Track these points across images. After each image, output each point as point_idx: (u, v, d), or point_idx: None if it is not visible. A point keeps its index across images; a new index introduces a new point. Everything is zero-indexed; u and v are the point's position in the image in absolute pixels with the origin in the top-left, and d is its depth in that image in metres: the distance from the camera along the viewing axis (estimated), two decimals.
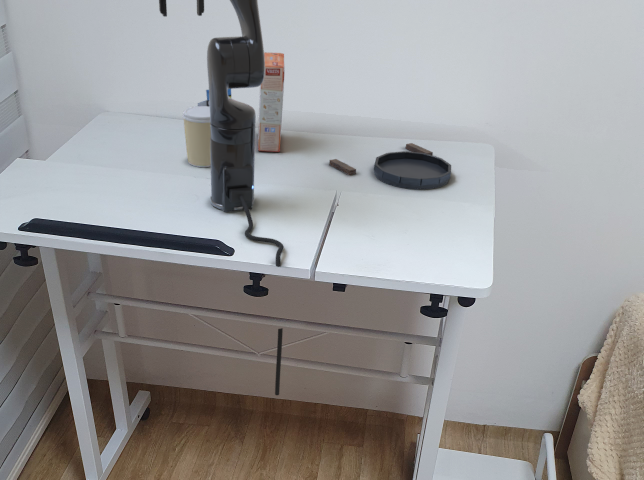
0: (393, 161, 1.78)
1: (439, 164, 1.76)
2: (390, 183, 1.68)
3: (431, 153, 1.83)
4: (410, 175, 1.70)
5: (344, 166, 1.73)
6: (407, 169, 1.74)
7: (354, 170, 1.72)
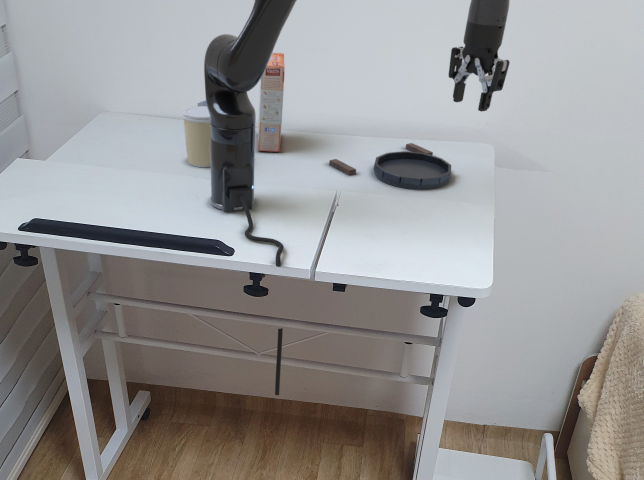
0: (393, 161, 1.78)
1: (439, 164, 1.76)
2: (390, 183, 1.68)
3: (431, 153, 1.83)
4: (410, 175, 1.70)
5: (344, 166, 1.73)
6: (407, 169, 1.74)
7: (354, 170, 1.72)
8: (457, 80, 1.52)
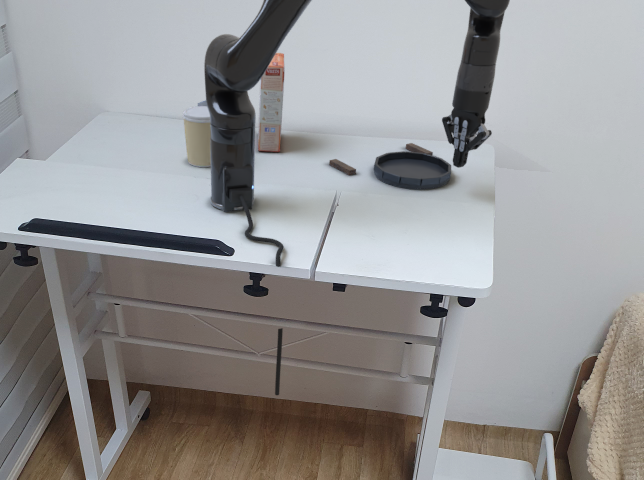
0: (393, 161, 1.78)
1: (439, 164, 1.76)
2: (390, 183, 1.68)
3: (431, 153, 1.83)
4: (410, 175, 1.70)
5: (344, 166, 1.73)
6: (407, 169, 1.74)
7: (354, 170, 1.72)
8: (456, 145, 1.57)
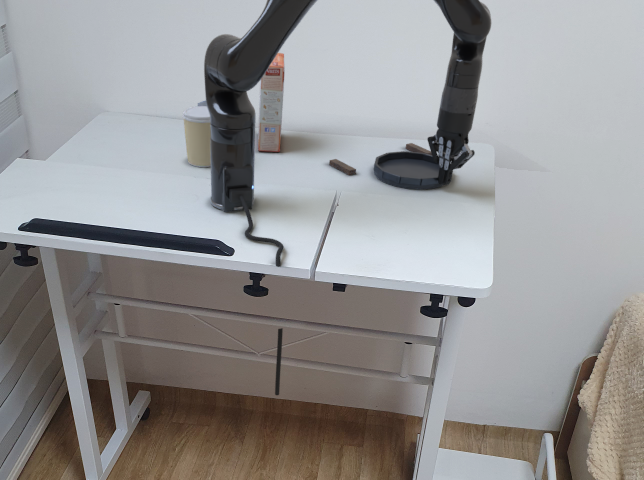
0: (393, 161, 1.78)
1: None
2: (390, 183, 1.68)
3: (431, 153, 1.83)
4: (410, 175, 1.70)
5: (344, 166, 1.73)
6: (407, 169, 1.74)
7: (354, 170, 1.72)
8: (441, 164, 1.62)
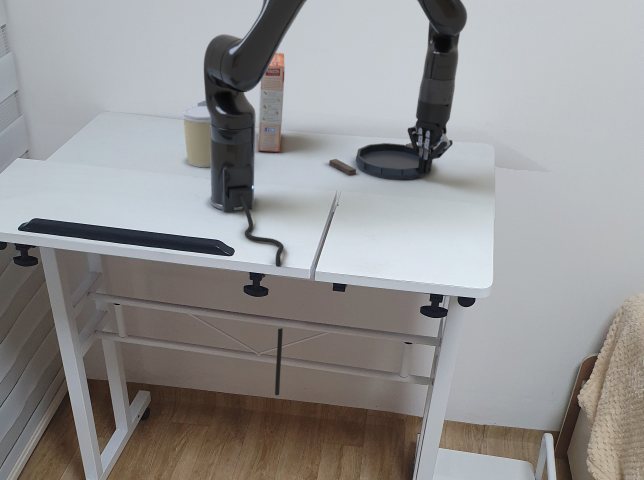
0: (375, 153, 1.82)
1: None
2: (372, 174, 1.72)
3: None
4: (391, 166, 1.75)
5: (344, 166, 1.73)
6: (388, 160, 1.78)
7: (354, 170, 1.72)
8: (421, 154, 1.67)
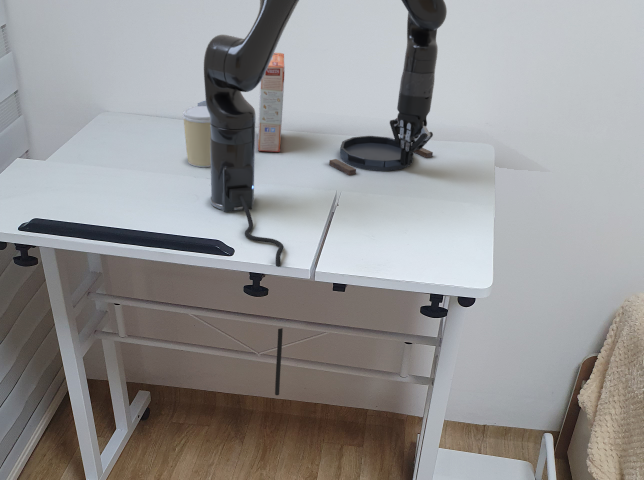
0: (358, 145, 1.86)
1: None
2: (355, 165, 1.76)
3: (431, 153, 1.83)
4: (374, 158, 1.79)
5: (344, 166, 1.73)
6: (372, 152, 1.82)
7: (354, 170, 1.72)
8: (403, 146, 1.71)
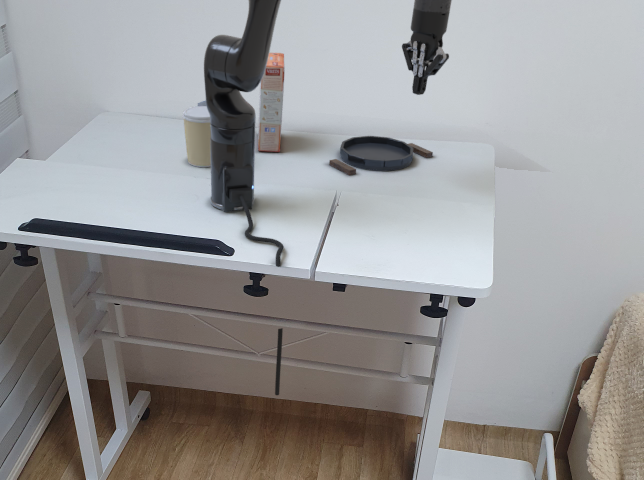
0: (358, 145, 1.86)
1: (402, 147, 1.85)
2: (355, 165, 1.76)
3: (431, 153, 1.83)
4: (374, 158, 1.79)
5: (344, 166, 1.73)
6: (372, 152, 1.82)
7: (354, 170, 1.72)
8: (415, 71, 1.57)
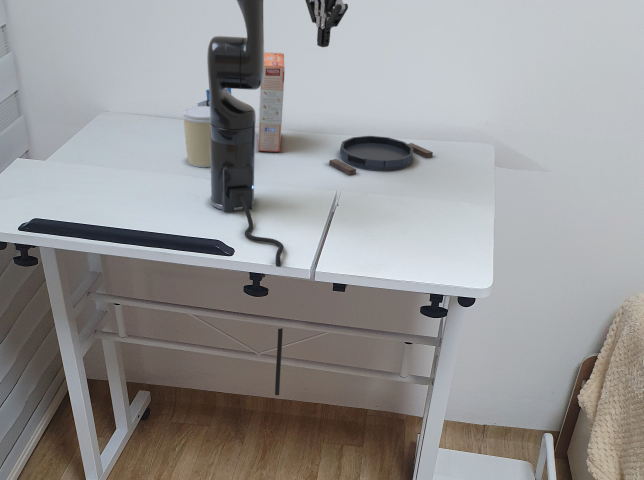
0: (358, 145, 1.86)
1: (402, 147, 1.85)
2: (355, 165, 1.76)
3: (431, 153, 1.83)
4: (374, 158, 1.79)
5: (344, 166, 1.73)
6: (372, 152, 1.82)
7: (354, 170, 1.72)
8: (318, 23, 1.58)
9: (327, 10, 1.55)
